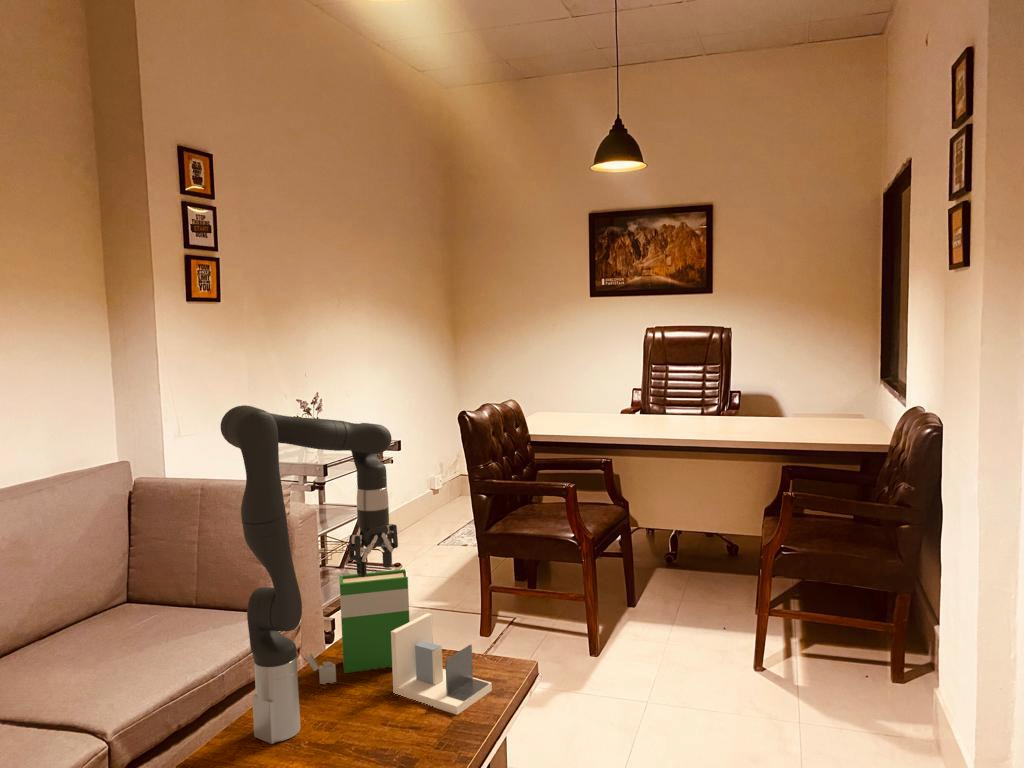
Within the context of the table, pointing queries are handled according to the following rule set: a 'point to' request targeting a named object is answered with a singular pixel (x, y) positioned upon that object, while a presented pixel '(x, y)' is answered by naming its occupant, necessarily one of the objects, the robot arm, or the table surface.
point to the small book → (429, 663)
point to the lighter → (323, 670)
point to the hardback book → (371, 617)
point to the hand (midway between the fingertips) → (375, 571)
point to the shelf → (406, 669)
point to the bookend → (461, 675)
